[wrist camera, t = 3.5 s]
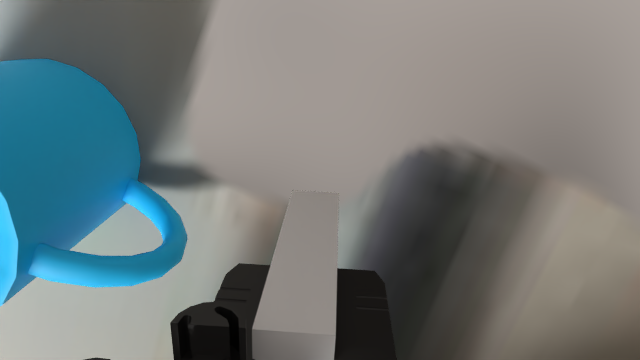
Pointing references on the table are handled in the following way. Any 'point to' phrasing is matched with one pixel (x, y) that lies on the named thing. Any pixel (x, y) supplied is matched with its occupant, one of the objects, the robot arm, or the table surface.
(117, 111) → the mug
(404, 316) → the table surface
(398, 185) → the table surface
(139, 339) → the table surface
